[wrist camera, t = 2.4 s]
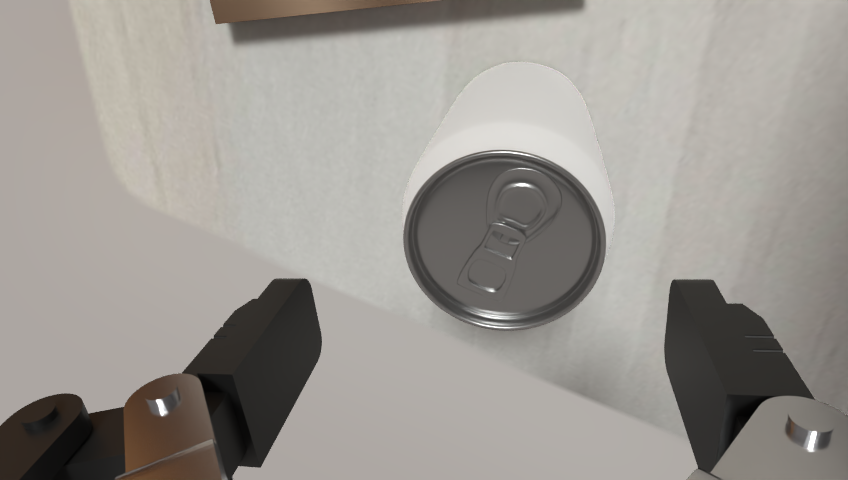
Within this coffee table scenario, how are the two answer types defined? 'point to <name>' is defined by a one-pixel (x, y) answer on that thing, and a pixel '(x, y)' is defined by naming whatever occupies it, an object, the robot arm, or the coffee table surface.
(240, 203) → the coffee table surface
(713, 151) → the coffee table surface
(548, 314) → the can
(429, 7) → the coffee table surface
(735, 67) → the coffee table surface
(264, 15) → the wall board
